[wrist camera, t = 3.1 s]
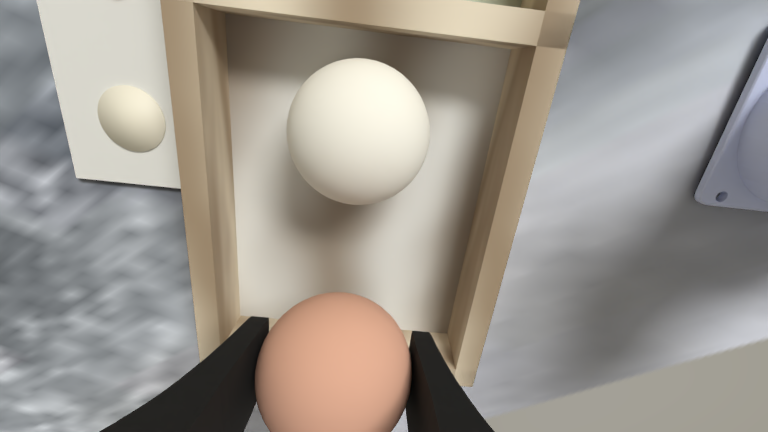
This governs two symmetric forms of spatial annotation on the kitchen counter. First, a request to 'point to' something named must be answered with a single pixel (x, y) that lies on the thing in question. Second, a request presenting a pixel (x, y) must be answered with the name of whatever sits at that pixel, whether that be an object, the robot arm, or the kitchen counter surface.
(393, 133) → the cream ball
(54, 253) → the kitchen counter surface
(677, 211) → the kitchen counter surface
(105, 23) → the card
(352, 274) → the two-well rack
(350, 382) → the terracotta ball
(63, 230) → the kitchen counter surface
